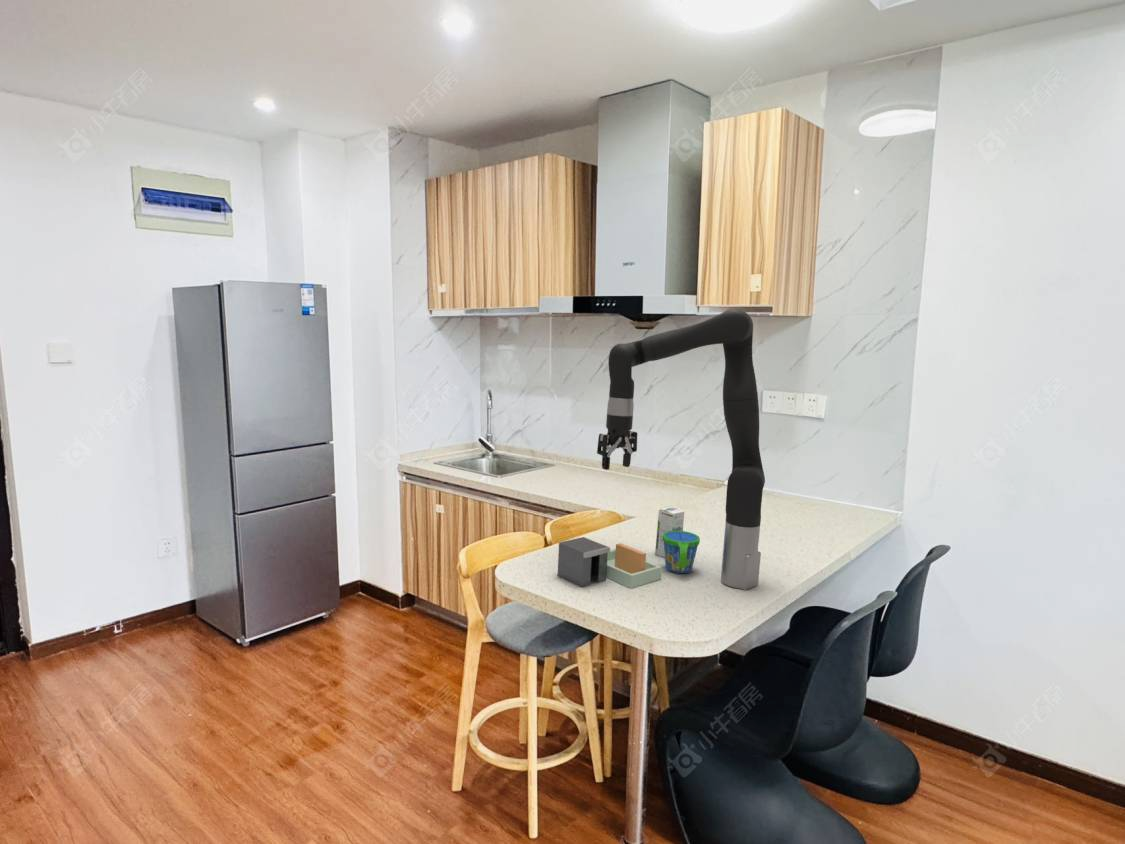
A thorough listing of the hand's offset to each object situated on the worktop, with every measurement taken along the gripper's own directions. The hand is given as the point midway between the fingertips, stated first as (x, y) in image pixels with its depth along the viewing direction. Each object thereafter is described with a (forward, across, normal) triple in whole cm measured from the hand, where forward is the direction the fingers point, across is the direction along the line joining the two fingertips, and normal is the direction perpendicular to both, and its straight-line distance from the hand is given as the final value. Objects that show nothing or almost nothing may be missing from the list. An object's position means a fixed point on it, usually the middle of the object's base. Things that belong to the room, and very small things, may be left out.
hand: (616, 467), depth 195 cm
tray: (+28, -5, -10) cm, 30 cm away
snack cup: (+28, +11, -18) cm, 35 cm away
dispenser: (+28, -17, -6) cm, 33 cm away
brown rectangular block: (+27, -5, -13) cm, 30 cm away
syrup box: (+28, +18, -8) cm, 34 cm away
